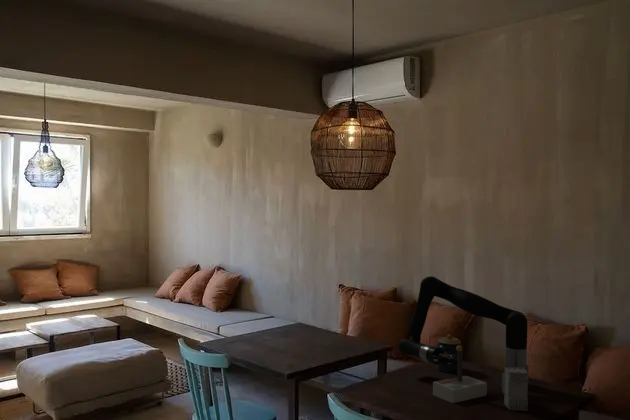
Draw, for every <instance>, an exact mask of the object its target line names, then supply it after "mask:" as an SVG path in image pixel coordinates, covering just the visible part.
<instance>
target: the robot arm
mask: <svg viewBox="0 0 630 420" xmlns="http://www.w3.org/2000/svg"><path fill="white" fill-rule="evenodd" d="M418 291H419V293H418V296H417V301H416V305H415V308H414V310H413V313H412V315H411V317H410V320H409V324H408V326H407V328H406V333H407V334H408V335H409V336H410V339H408V338H401V339H400V340H399V341H398V343H397V350H398V351H399V352H400V353H401V354H404V355H408V356H412V357H414V358H417V359H420V360H423V361H425V362H428V363H431V364H434V365H435V366H436V365H438V364H440V363H441V364H447V363H449V364H454V365H457V359H456V355H455V354H452V356H451V355H449V354H447V353H444V352H443V350H442V349H441V348H438V347H437V346H434V345H431V344H425V343H421V340H422V339H421V337H422V333H423V329H424V327H425V323H426V321H427V317H428V312H429V309H430V306H431V304H432V301H433V300H434V298H440V299H442V300H444V301H447V302H449V303H450V304H452V305H454V306H455V307H457V308H459V309H461V310H462V311H464V312H467V313H469V314H471V315H474V316H478V317H480V318H484V319H485V318H486V319H490V320H494V321H496V322H499V323H500V324H502V325H505V360H504V361H505V363H504V364H505V365H504V368H505V367H520V368H524V369H525V370H526V371H527V372H528V373H529V365H528V364H527V363H528V362H527V361H528V359H527V358H528V318H527V317H526V315H525V314H524V313H523V312H521V311H518V310H514V309H511V308H507V307H504V306H503V305H500V304H497V303H495V302H493V301H492V300H490V299H487V298H485V297H483V296H481V295H479V294H476V293H473V292H470V291H468V290H465V289H463V288H459V287H455V286H452V285H451V284H449V283H447V282H444V281H442V280H440V279H438V278H437V277H435V276H429V275H428V276H426V277H424V278H422V280H421V282H420V287H419V290H418ZM527 376H528V377H529V374H528V375H527Z"/></svg>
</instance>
